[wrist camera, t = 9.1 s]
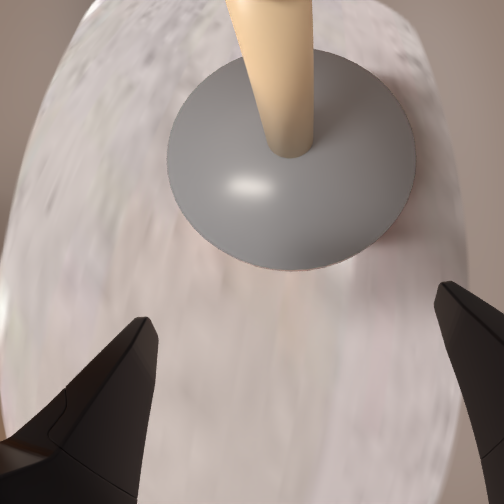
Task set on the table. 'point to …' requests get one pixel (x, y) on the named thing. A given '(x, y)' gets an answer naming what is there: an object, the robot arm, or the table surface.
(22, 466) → the robot arm
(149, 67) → the table surface
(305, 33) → the cover
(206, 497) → the table surface
